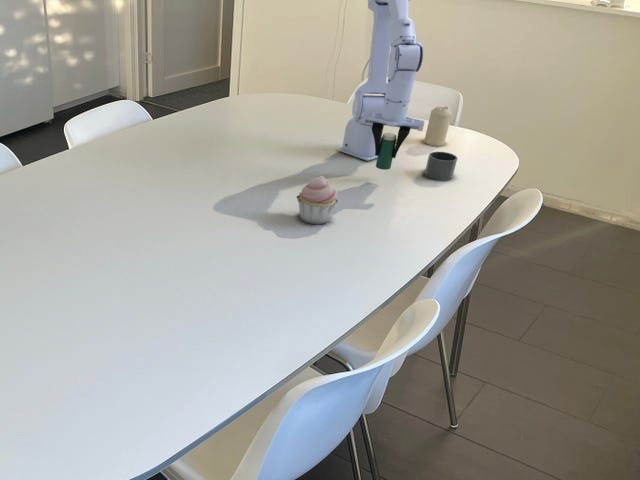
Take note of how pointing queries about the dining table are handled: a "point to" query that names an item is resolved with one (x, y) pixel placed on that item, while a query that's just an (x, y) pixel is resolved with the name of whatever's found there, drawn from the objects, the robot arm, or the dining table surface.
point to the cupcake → (317, 201)
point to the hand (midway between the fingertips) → (385, 155)
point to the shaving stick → (386, 151)
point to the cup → (440, 165)
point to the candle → (438, 126)
